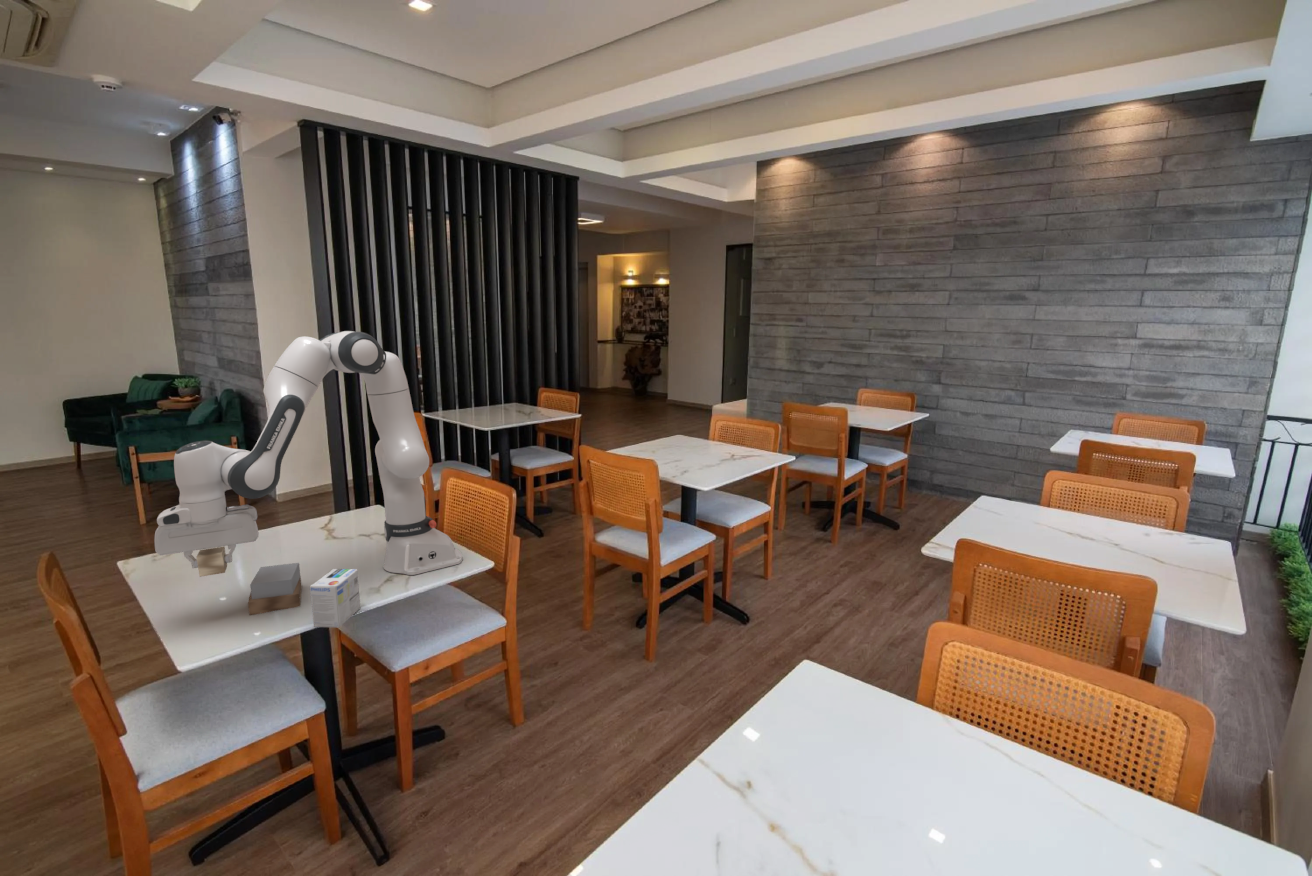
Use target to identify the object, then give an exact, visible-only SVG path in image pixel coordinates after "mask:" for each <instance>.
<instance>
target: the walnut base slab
mask: <svg viewBox="0 0 1312 876" xmlns="http://www.w3.org/2000/svg"><path fill="white" fill-rule="evenodd" d="M301 577H302V576H301V575H300V579H299V581H298V583H297V585H296V588H295V590H294V592H293V594H290V595H283V596H275V597H267V598H260V599H252V596H251V592H250V593H249V598H248V601H247V605H248V613H249V616H254V615H259V614H260V613H261V614H264V613H271V612H277V611H282V610H283V611H284V610H288V609H294V608H300V607H301V599H302V597H301V596H302V587H303V585H302V578H301ZM261 614H260V615H261Z"/></svg>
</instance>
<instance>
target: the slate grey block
mask: <svg viewBox="0 0 1312 876" xmlns="http://www.w3.org/2000/svg"><path fill="white" fill-rule="evenodd" d="M300 576H301V569H300V562H294V563H284V564H275V565H268V566H267V565H266V566H260V568H259V570H258V571H257V573H256V574H255V576H254V577H253V580H252V581H251V582H250V584H249V587H250V593H251V596H252V599H260V598H267V597H275V596H283V595H290V594H293V592H294V590H295V588H296V585H297V583H298V581H299V579H300Z"/></svg>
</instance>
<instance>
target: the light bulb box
mask: <svg viewBox="0 0 1312 876" xmlns="http://www.w3.org/2000/svg"><path fill="white" fill-rule="evenodd" d="M309 592H310V603H311V611H312V612H311V613H312V621H313V627H314V628H340V627H341V626H343V625H344V623H346V622H347V621H348V620H349V619H350V618H351V617H352V616H354V614H356V613H357V611H359V610H360V609H361V597H360V584H359V573H358V569H357V568H352V569H351V568H350V569H349V568H332V569H330V570H329V571H328V572H327V573H326V574H324V575H323V576H322V577H320V578H319V579H318V580H316V581H315V582H314V583H312V584H311V585H309ZM355 612H356V613H355Z"/></svg>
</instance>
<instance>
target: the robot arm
mask: <svg viewBox="0 0 1312 876" xmlns="http://www.w3.org/2000/svg"><path fill="white" fill-rule="evenodd" d="M331 371H334V372H335V371H336V372H342V373H346V374H347V373H348V374H353V373H354V374H355V373H357V374H359V375H360V376H361V377H362V379H363V381H364V383H365V388H366V389H365V390H366V394H367V399H368V404H369V409H370V413H371V417H372V422H373V424H374V427H375V429H376V431H377V434H378V437H379V440H378V441H377V443H376V445H375V448H374V453H375V457H376V463H377V468H378V476H379V480H380V484H381V485H380V486H381V488H382V493H383V500H384V501H383V503H384V514H385V520H384V526H383V528H384V538H385V541H386V544H385V545H386V547H385V548H386V549H385V556H384V562H383V566H382V568H383V570H384V571H387V572H389V573H393V574H403V575H407V576H414V575H419V574H423V573H426V572H431V571H432V572H433V571H435V570H440V569H443V568H448V567H451V566H455V565H459V564H460V565H461V563H462V561H463V554H462V552H461V551H460V550H459V549H458V548H456V547H455V546H454V543H453V540H452V539H451V538H450V536H449V535H448V534H446V533H444V532H442V531H440V530H438V529H436V527H437V522H436V521H435V520H433V518H432V517H431V516H429V515H428V516H427V515H426V505H425V502H426V501H425V491H424V489H423V486H422V482H421V478H420V477H422V476H423V475H424V474H425V473H426V472H427V470H428V469H429V466H430V457H429V454H428V452H427V450H426V447H425V443H424V440H423V437H422V433H421V430H420V428H419V426H418V425H419V424H418V423H417V419H416V417H415V412H414V408H413V407H414V406H413V404H412V397H411V394H410V387H409V384H408V378H407V375H406V372H405V370H404V366H403V364H402V361H401V359H400V358H399V357H398V355H396V354H395V353H393V352H390V351H385V350H384V349H383V348H382V346H381V345H380V344H379V342H378V341H377V340H376V338H374V337H373V336H372V335H370V334H369V333H367V332H363V331H352V330H344V331H340V332H333V333H330V334H329V333H328V334H327V335H325V336H324V337H322V338H320V339H318V338H315V337H311V336H307V335H306V336H304V335H303V336H299V337H296V338H295V339H294V340H293V341H292V342H291V343H290V344H289V345H288V346H287V347H286V348H285V350H284V351H283V352H282V353H281V355H280V356H279V358H278V359H277V360H276V362H275V364H274V365H273V367H272V369H271V370H270V372H269V374H268V376H267V378H266V379H265V380H266V381H265V382H264V386H263V389H262V390H263V392H262V393H263V396H264V398H265V401H266V403H267V406H268V418H267V421H266V423H265V425H264V427H263V429H262V431H261V433H260V435H259V436H258V439H257V440H256V441H257V442H256V443H255V445H254V446H253V448H252V449H251V451H250V450H246V449H241V448H233V447H229V446H224V445H221V444H218V443H215V442H213V441H212V440H200V441H199V440H198V441H193V442H190V443H188V444H184V445H182V446H180V447H179V448H178V449H177V450H176V451H175V453H174V456H173V468H174V471H173V472H174V478H175V483H176V486H177V488H178V490H179V497H178V502H179V503H178V504H177V505H174V506H172V507H170V508H166V509H164V510H163V511H162V512H160V513H159V514H158V516H157V518H156V523H157V525H158V526H157V528H156V530H155V533H154V549H155V553H156V554H158V555H160V556H166V555H173V554H174V555H175V554H180V553H183V555H184V558H185V559H186V560H188V561H189V562H190V563H191V568H192V569H198V564H197V558H196V557H195V556H194V555H193V552H194V551H200V550H204V549H211V548H217V547H224V546H225V547H226V546H227V548H228V549H227V550H229V551H228V553H227V554H225V555H224V560H225V561H224V562H225V563H227V564H230V563H233V553H234V551H235V550H236V547H237V545H240V544H247V543H253V542H256V541H257V540H258V538H259V535H260V533H259V528H258V524H257V520H258V511H257V508H256V507H254V506H252V505H249V504H242V505H232V506H231V505H230V506H227V500H226V495H225V494H226V493H225V492H226V491H229V490H232V491H233V492H234V493H235V494H236V495H238V496H240V497H242V498H245V499H253V500H255V499H259V498H263V497H266V496H267V495H269V494H271V493H272V492H273V491H274V490H275V489H276V487H277V486H278V485H279V481H280V477H281V468H282V467H281V466H282V462H283V459H284V457H285V454H286V453H287V451H288V448H289V446H290V444H291V442H292V440H293V438H294V435H295V433H296V431H297V429H298V427H299V425H300V423H301V420H302V418H303V416H304V413H305V412H306V409H307V408H308V405H309V404H310V402H311V400H312V399H313V397H314V395H315V394H316V392H317V391H318V388H319V386H320V384H321V382H322V381H323V379H324V377H325V376H326V375H327V374H328V373H329V372H331Z"/></svg>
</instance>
